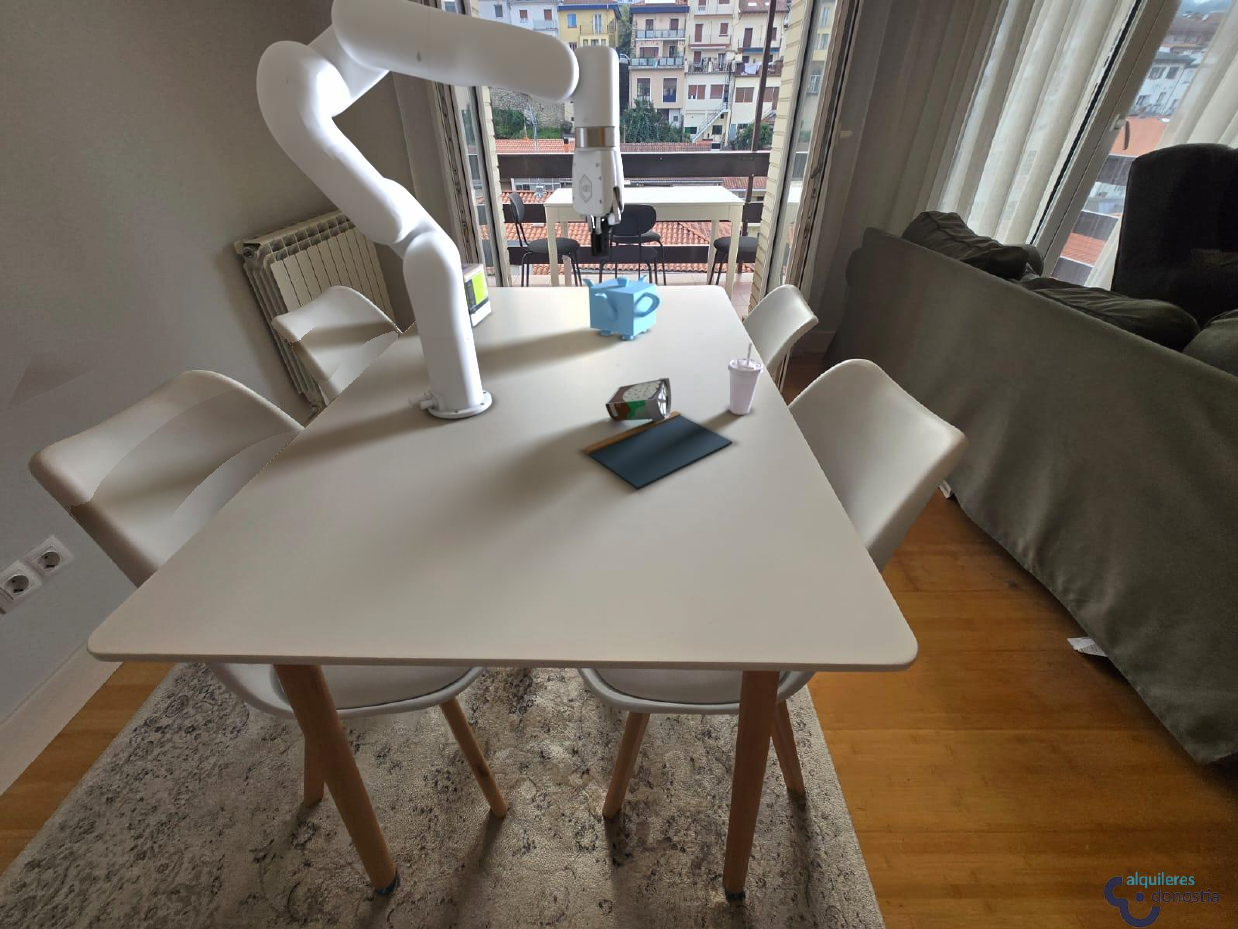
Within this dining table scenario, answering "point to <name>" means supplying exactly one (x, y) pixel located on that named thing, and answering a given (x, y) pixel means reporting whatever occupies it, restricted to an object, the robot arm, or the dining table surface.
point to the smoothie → (743, 382)
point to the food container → (641, 401)
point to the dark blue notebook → (656, 449)
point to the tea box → (475, 292)
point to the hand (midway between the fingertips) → (600, 255)
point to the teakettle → (622, 306)
